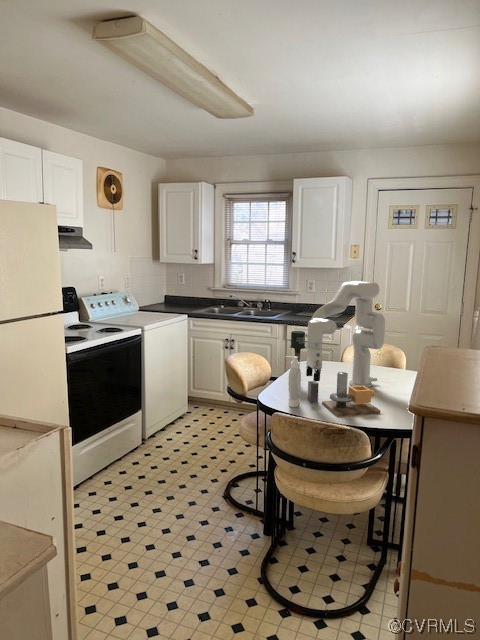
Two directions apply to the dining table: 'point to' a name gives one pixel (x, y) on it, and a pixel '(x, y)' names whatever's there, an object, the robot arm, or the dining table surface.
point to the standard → (341, 391)
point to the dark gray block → (313, 391)
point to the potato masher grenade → (298, 342)
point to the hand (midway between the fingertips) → (312, 378)
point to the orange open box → (361, 394)
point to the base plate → (351, 408)
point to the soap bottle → (294, 382)
